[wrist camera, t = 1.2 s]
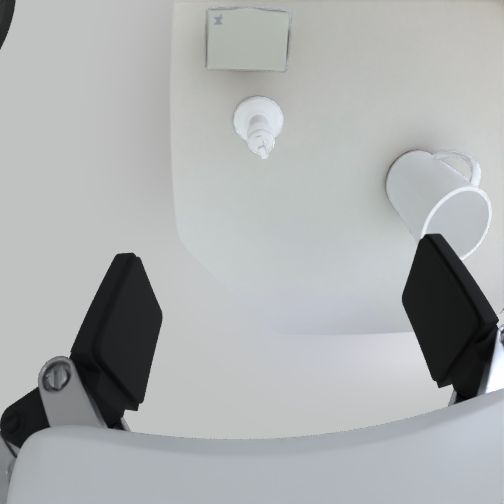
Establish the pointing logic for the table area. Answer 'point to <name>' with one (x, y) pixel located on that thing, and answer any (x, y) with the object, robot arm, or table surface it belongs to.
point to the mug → (440, 199)
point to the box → (247, 39)
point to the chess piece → (258, 123)
